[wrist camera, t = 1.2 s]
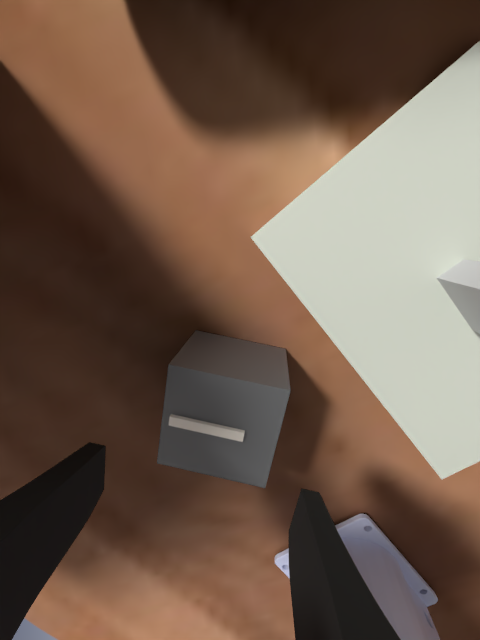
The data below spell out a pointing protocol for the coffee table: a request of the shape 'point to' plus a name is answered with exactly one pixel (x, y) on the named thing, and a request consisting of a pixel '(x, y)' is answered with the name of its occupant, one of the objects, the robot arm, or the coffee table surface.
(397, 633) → the robot arm
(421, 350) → the plate
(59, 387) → the coffee table surface
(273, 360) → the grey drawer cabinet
